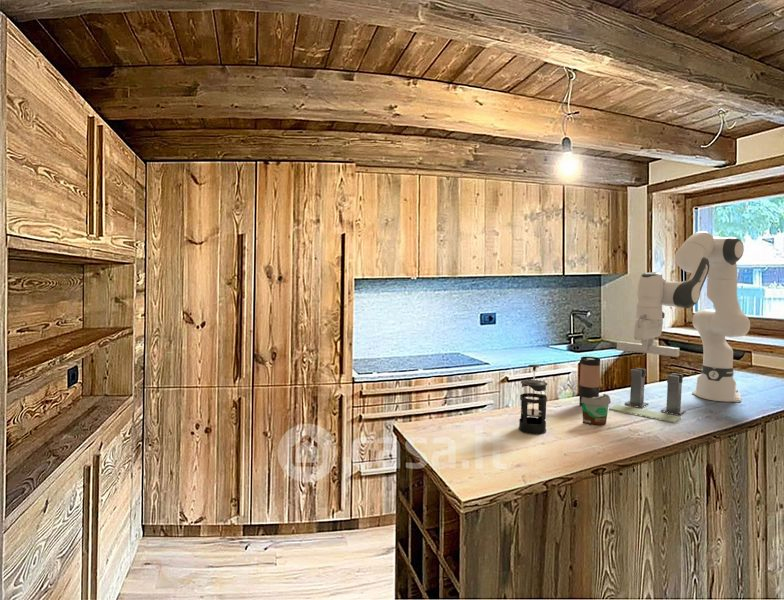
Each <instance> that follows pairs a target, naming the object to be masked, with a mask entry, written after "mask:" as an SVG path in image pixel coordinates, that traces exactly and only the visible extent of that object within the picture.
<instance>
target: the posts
mask: <svg viewBox="0 0 784 600" xmlns="http://www.w3.org/2000/svg"><path fill="white" fill-rule="evenodd" d="M646 370H647V369H646V368H639V367H635V368H634V369H632V368H631V369H630V393H629V394H630V395H629V396H630V397H629V400H628V401H626V402H624V406H629V405H631V406H630V407H634V406H638V407H637V408H639V407H644V406H646V405H648V406H649V405H650V404H649V402H645V401H644V400H645V399H644V398H645V381H646V380H645V379H646V378H645V377H646V373H647V371H646ZM666 378H667V379H666V382H667V386H666V387H667V390H666V406H665V407H664V408H661V409H660V412H661V411H665V412H668V413H667V414H670V413H673V414H672V415H675V414H678V415H677V416H681V414H682V415H683V414H685V413H686V411H687V410H686V409H682V408H681V407H682V405H681V404H682V388H683V387H682V385H683V378H684V374H681V373H674V372H671V374H667V376H666ZM646 407H647V406H646ZM644 408H645V407H644ZM665 412H664V413H665ZM684 412H685V413H684Z"/></svg>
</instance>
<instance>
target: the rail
mask: <svg viewBox="0 0 784 600" xmlns="http://www.w3.org/2000/svg"><path fill="white" fill-rule="evenodd" d="M616 350H621V351H627V352H628V351H629V352H635V353H641V354H642V353H643V354H651V355H658V356H668V357H674V358H675V357H676V358H678V357H679V356H680V350H681V349H680V347H674V346H664V345H657V344H655V345H654V344H653V345H648V350H647V351H644V350H642V343H639V342H628V341H623V340H621V341H620V340H619V341H617V342H616Z"/></svg>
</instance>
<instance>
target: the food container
mask: <svg viewBox="0 0 784 600" xmlns="http://www.w3.org/2000/svg"><path fill="white" fill-rule="evenodd" d="M611 402H612V401H611V397H610V395H609V394H606V393H603V394H602V396H600V395H599V397H590V398H586V397H582V399H581V403H582V407H581V409H582V413H581V414H582V424H584V425H587V424H588V425H587V426H593V425H594V426H597V427H600V426H602V425H603V426H605V425H606V424H607V418H608V413H609V412H608V411H609V405H610V404H611Z"/></svg>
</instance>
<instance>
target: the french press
mask: <svg viewBox="0 0 784 600" xmlns="http://www.w3.org/2000/svg"><path fill="white" fill-rule="evenodd" d="M528 367H529V368H532V371H533V377H532V379H523V380H520V384H521V388H524V387H529V388H531V389H532V392H527V393H525V392H524V393H521V394H520V395H519V400H520V402H521V403H520V418H519V420H518V421H519V422H518V423H519V424H518V430H519V432H520V433H521V432H522V433H524V434H528V435H544V434H545V433H547V428H546V427H547V421H546V416H547V401H548V397H547V395H546V394H542V393H535V392H545V391H546V390H547V385H548V383H547V382H546V381H544V380H539V379H538V380H537V379H535V378H536V377H535V376H536V375H535V374H536V373H535V372H536V371H537V368H541V365H539V364H528ZM535 398H537V399H535ZM529 403H530V404H532V407H531V408H528V405H529ZM534 404H537V405H538V406H537V407H538V409H536V408H535V407H534Z"/></svg>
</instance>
